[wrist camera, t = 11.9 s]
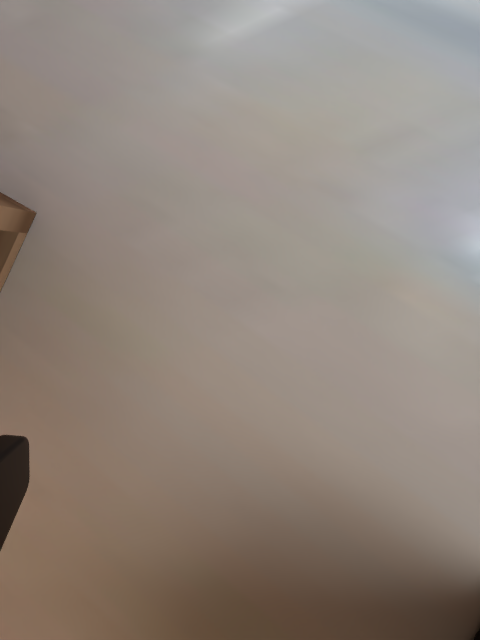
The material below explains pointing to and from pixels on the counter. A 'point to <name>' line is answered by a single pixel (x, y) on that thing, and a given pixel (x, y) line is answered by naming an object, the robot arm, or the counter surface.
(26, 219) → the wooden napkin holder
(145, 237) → the counter surface
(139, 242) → the counter surface
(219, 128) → the counter surface
